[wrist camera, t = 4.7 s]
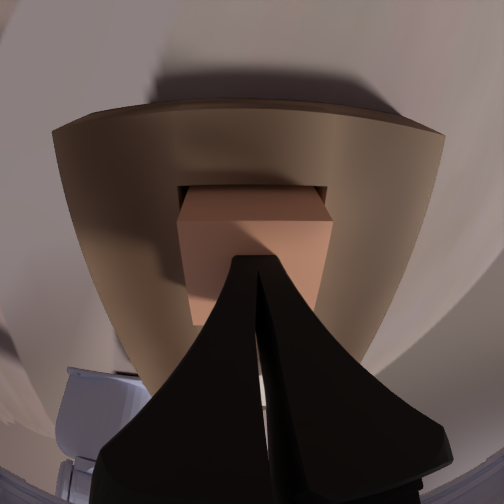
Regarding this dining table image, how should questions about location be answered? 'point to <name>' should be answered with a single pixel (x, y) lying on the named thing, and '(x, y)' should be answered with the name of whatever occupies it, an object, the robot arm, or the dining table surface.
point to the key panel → (241, 172)
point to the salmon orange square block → (250, 236)
